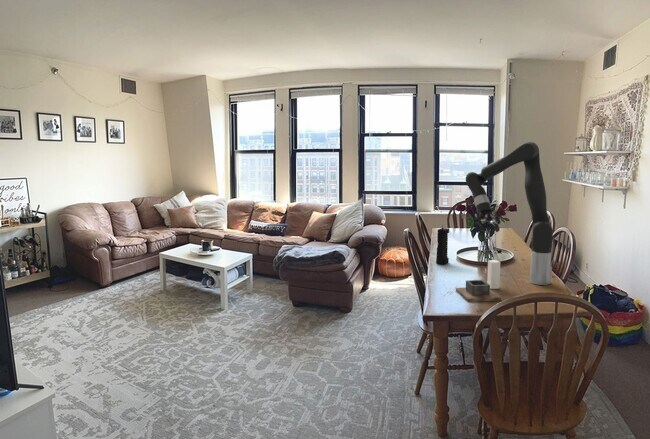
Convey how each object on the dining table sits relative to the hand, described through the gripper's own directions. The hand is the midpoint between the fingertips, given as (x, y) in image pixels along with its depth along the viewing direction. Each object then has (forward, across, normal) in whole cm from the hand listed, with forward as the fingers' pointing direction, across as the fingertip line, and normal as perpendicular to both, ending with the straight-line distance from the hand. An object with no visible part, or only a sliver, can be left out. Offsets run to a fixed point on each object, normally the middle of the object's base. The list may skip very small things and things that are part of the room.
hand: (491, 231), depth 217 cm
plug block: (+28, -2, +9) cm, 30 cm away
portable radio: (-1, +2, +51) cm, 51 cm away
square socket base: (+33, -17, +5) cm, 38 cm away
